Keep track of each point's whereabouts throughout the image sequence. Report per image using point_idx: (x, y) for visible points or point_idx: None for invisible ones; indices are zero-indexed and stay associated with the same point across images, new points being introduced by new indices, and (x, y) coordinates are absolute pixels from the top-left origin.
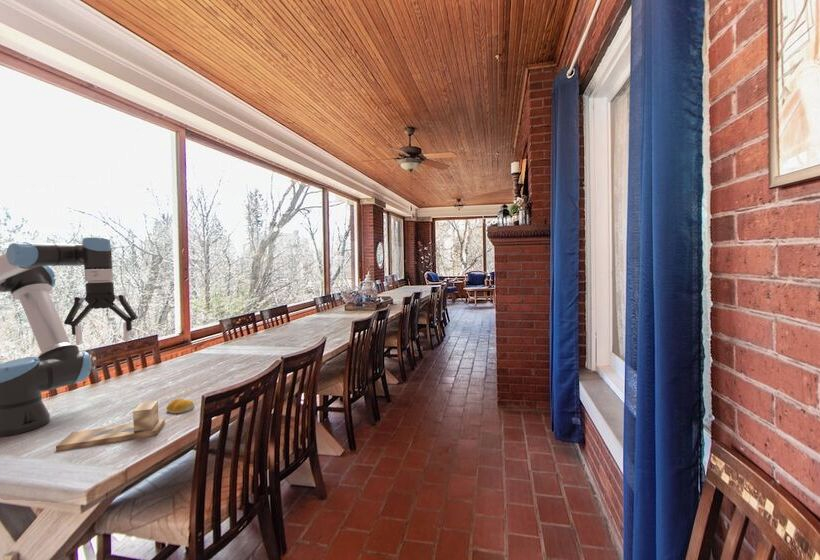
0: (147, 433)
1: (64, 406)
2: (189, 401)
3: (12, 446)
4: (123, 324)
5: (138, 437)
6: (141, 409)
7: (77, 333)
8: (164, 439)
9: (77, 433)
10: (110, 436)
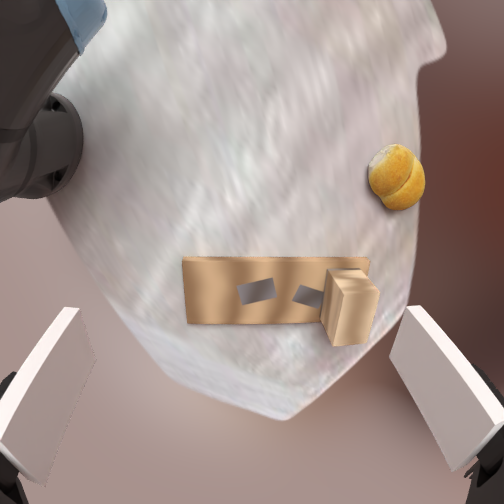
0: None
1: None
2: (422, 191)
3: (88, 258)
4: (448, 458)
5: None
6: (348, 340)
7: (62, 429)
8: None
9: (198, 274)
10: (277, 317)
